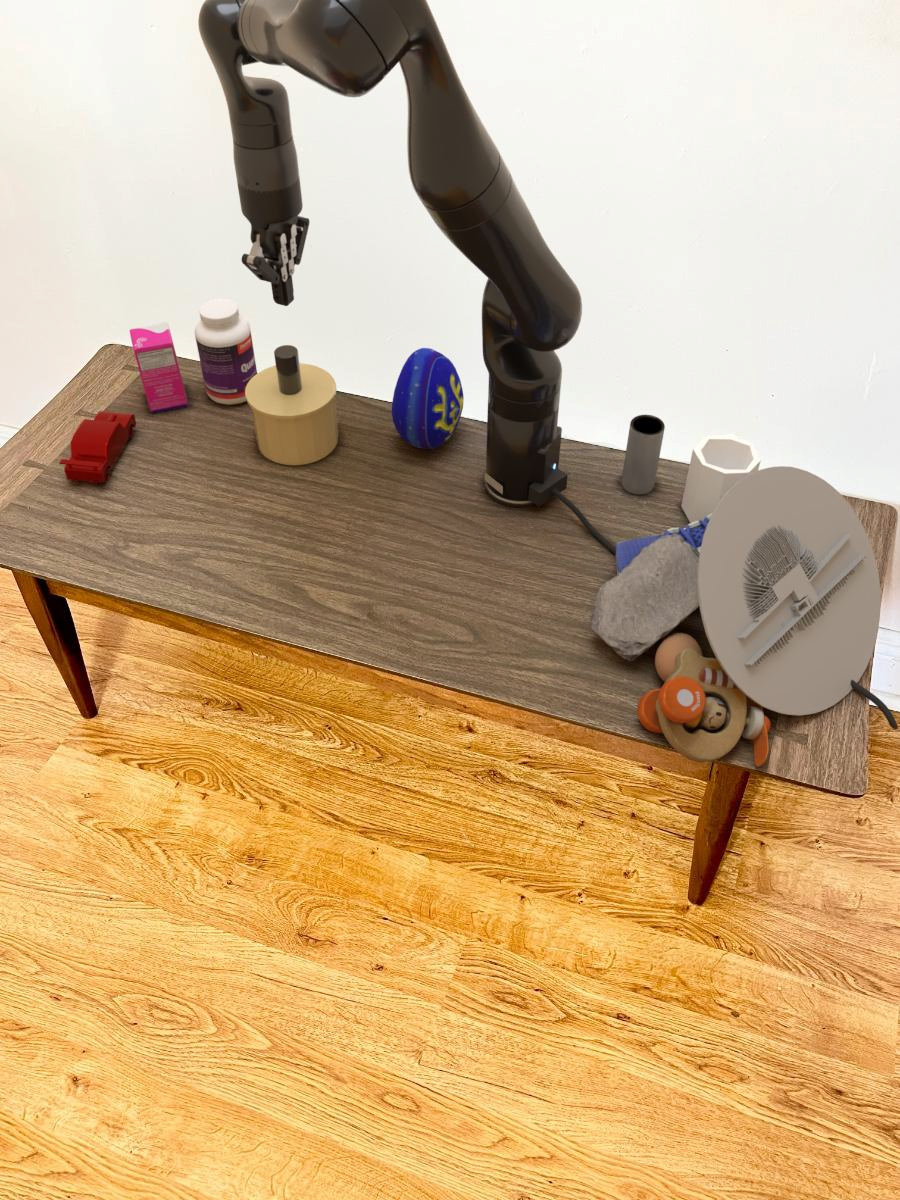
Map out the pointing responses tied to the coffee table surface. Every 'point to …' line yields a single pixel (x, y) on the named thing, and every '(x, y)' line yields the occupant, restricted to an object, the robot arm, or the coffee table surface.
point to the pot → (297, 436)
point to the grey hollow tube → (642, 454)
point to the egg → (673, 653)
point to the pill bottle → (225, 351)
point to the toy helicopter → (704, 711)
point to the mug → (716, 472)
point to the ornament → (427, 399)
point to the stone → (648, 597)
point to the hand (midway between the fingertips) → (284, 302)
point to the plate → (789, 590)
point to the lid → (290, 387)
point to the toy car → (98, 446)
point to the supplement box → (158, 367)
